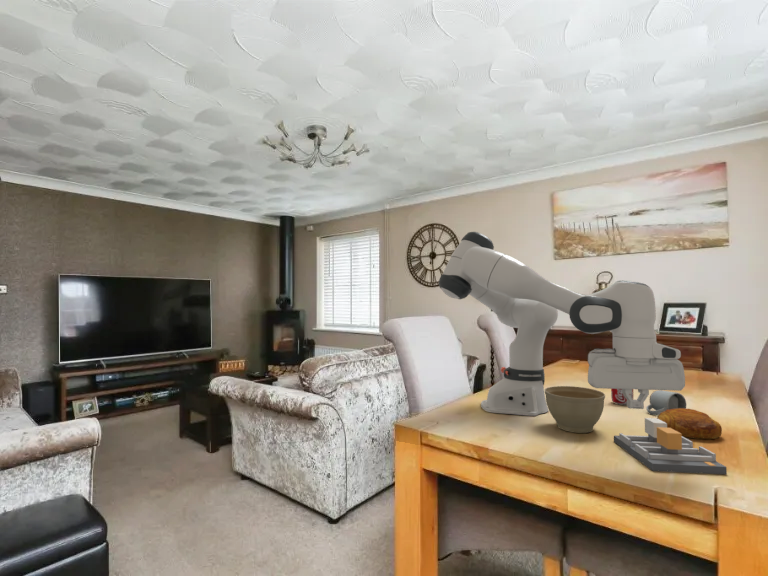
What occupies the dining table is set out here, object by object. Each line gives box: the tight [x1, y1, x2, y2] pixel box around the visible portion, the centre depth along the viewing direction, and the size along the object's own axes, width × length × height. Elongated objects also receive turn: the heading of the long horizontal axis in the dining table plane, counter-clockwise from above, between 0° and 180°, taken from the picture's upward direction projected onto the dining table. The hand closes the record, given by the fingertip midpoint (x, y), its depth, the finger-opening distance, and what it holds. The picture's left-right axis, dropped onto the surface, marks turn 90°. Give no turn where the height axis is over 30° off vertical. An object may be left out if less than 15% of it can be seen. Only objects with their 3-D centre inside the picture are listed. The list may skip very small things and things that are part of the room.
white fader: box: [644, 417, 667, 442], centre depth 102 cm, size 3×4×6 cm
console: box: [613, 432, 728, 475], centre depth 98 cm, size 15×19×3 cm
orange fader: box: [657, 427, 682, 455], centre depth 94 cm, size 3×4×6 cm
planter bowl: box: [544, 385, 606, 434], centre depth 119 cm, size 16×16×11 cm
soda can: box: [610, 389, 634, 406], centre depth 149 cm, size 7×7×12 cm
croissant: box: [657, 408, 723, 440], centre depth 116 cm, size 14×16×8 cm
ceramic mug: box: [645, 390, 687, 416], centre depth 136 cm, size 11×8×8 cm
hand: (635, 408), depth 95 cm, fingers closed
